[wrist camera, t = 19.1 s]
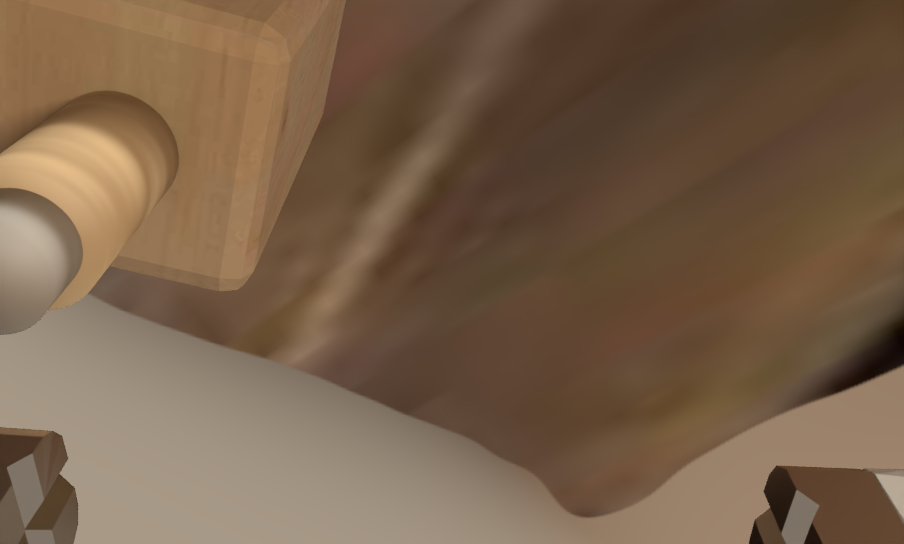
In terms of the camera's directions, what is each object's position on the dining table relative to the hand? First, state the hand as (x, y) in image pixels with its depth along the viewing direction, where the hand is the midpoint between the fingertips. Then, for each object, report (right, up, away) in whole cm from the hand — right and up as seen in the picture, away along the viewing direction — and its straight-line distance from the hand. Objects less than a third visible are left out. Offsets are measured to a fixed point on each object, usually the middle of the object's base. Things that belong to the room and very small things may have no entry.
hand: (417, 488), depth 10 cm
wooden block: (-11, +16, +36) cm, 41 cm away
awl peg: (-11, +6, +18) cm, 22 cm away
